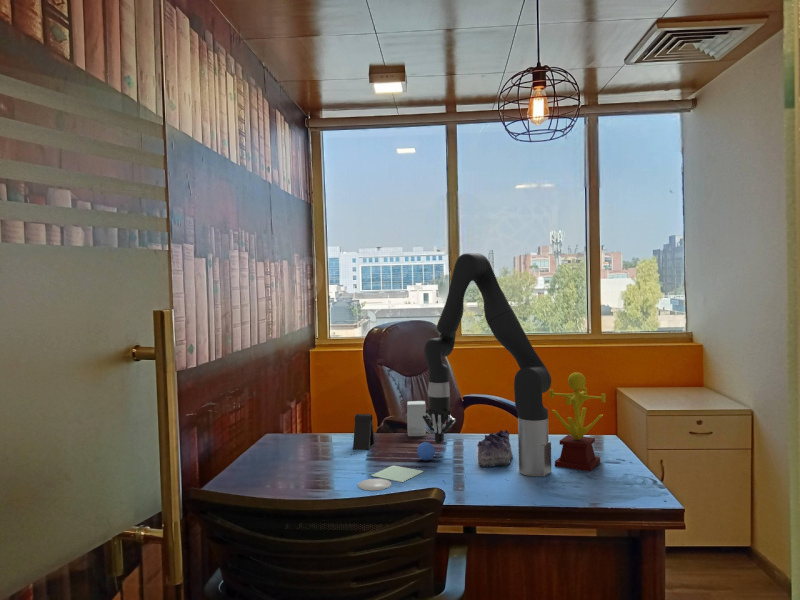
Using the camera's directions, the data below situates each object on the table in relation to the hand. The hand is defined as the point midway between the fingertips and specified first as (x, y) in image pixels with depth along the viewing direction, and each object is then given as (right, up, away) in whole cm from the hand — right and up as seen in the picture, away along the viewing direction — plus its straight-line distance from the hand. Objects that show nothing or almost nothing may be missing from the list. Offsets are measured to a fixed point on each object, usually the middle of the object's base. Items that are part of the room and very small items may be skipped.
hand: (439, 443), depth 209 cm
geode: (+18, -4, -9) cm, 21 cm away
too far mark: (-22, -5, -32) cm, 39 cm away
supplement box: (-7, -3, +28) cm, 29 cm away
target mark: (-15, -4, -22) cm, 27 cm away
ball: (-5, -1, -8) cm, 10 cm away
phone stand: (-27, -4, +11) cm, 30 cm away
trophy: (+44, -3, -16) cm, 47 cm away
